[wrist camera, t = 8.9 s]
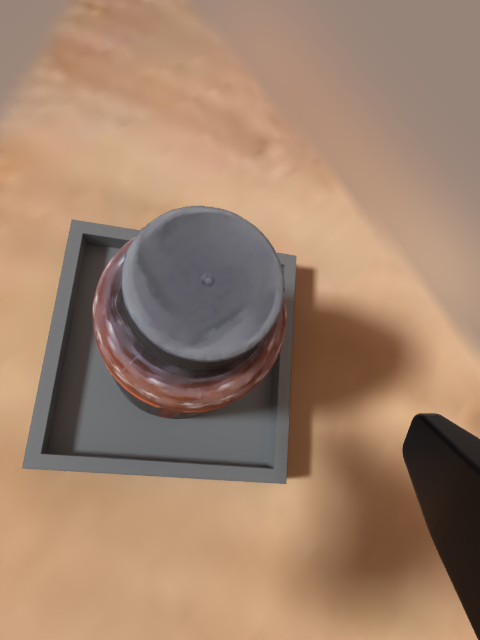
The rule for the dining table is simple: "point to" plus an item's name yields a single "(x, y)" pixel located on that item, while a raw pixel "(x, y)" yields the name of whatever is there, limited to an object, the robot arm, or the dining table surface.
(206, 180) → the dining table surface
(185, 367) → the supplement bottle
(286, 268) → the tray
